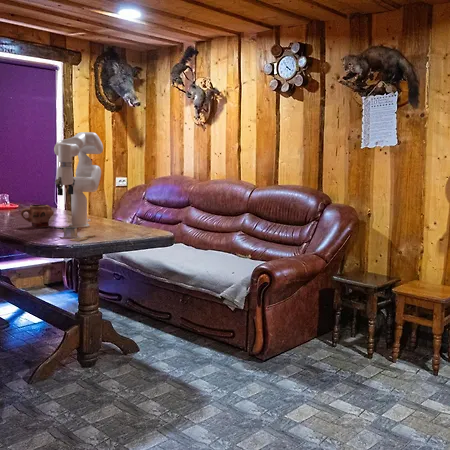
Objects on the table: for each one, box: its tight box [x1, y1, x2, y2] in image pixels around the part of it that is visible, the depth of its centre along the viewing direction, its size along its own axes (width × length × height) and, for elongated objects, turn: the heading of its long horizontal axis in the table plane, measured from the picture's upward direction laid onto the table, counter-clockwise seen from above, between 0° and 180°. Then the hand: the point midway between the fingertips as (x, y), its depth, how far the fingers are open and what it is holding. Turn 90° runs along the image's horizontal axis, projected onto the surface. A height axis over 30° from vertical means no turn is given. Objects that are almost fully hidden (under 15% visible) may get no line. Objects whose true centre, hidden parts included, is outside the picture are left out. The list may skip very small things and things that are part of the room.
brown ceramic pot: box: [20, 204, 55, 229], centre depth 325 cm, size 20×12×14 cm, turn 133°
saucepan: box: [53, 226, 78, 239], centre depth 294 cm, size 15×8×5 cm, turn 70°
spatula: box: [69, 234, 96, 242], centre depth 288 cm, size 18×6×1 cm, turn 160°
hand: (65, 194), depth 305 cm, fingers open, 9 cm apart
